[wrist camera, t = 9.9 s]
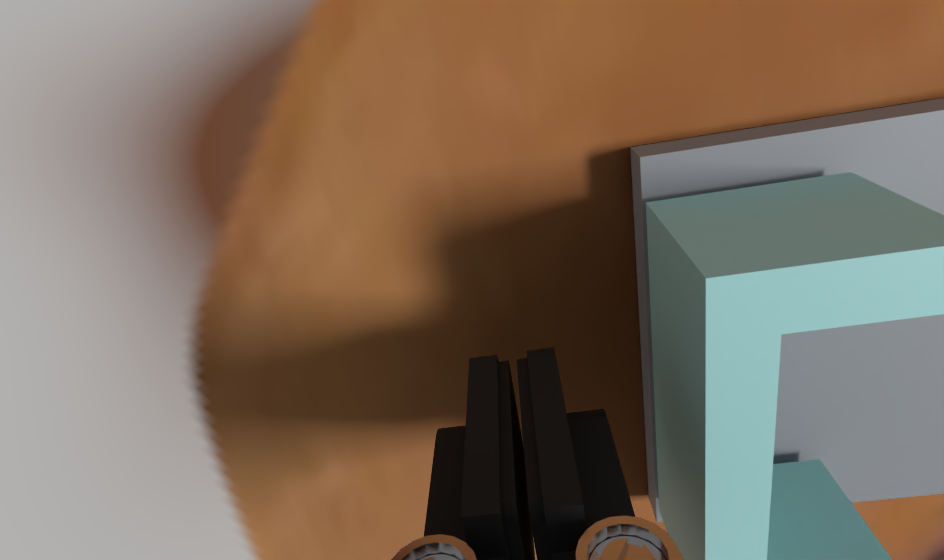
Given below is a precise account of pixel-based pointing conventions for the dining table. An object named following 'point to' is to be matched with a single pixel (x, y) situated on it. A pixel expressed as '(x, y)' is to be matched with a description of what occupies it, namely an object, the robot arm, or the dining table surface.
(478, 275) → the dining table surface
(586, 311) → the dining table surface
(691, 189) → the rail
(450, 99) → the dining table surface
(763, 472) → the cap
